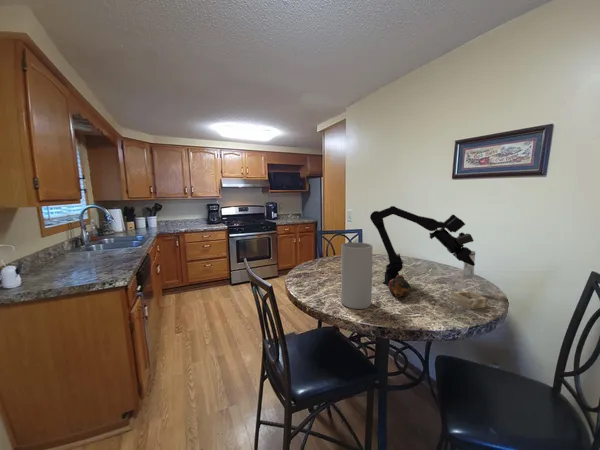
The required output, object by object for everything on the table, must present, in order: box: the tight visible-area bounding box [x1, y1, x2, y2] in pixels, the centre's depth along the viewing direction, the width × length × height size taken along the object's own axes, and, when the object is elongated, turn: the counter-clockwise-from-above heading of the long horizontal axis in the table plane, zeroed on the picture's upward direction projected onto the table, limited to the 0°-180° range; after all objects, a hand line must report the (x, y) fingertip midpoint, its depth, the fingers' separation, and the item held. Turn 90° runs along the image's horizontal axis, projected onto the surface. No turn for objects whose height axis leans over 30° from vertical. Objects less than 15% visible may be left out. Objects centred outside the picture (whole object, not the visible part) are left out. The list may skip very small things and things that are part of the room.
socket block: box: [450, 290, 489, 310], centre depth 100 cm, size 9×9×4 cm
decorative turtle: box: [387, 274, 412, 298], centre depth 110 cm, size 10×15×8 cm, turn 160°
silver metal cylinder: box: [462, 250, 476, 280], centre depth 112 cm, size 4×4×12 cm
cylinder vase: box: [340, 242, 373, 310], centre depth 101 cm, size 12×12×25 cm
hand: (472, 264), depth 111 cm, fingers closed on silver metal cylinder, 4 cm apart
